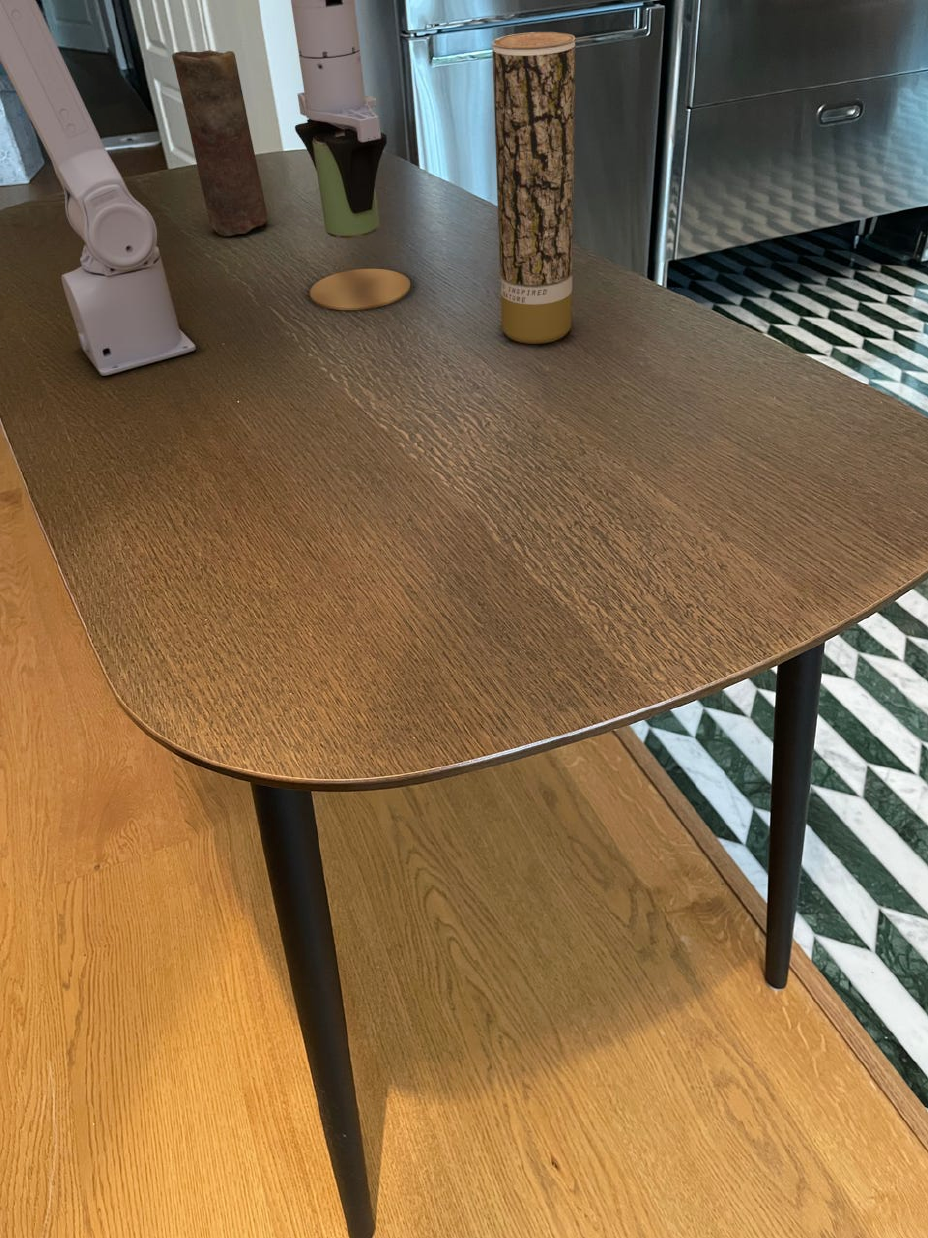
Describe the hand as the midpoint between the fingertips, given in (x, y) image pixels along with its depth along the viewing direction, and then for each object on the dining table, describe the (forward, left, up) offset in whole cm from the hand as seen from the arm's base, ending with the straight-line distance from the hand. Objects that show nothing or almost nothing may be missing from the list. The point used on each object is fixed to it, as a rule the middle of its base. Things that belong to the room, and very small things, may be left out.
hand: (349, 203), depth 99 cm
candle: (-3, +30, -10) cm, 32 cm away
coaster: (0, +1, -9) cm, 9 cm away
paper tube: (+9, -20, -10) cm, 24 cm away
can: (0, 0, -3) cm, 3 cm away
